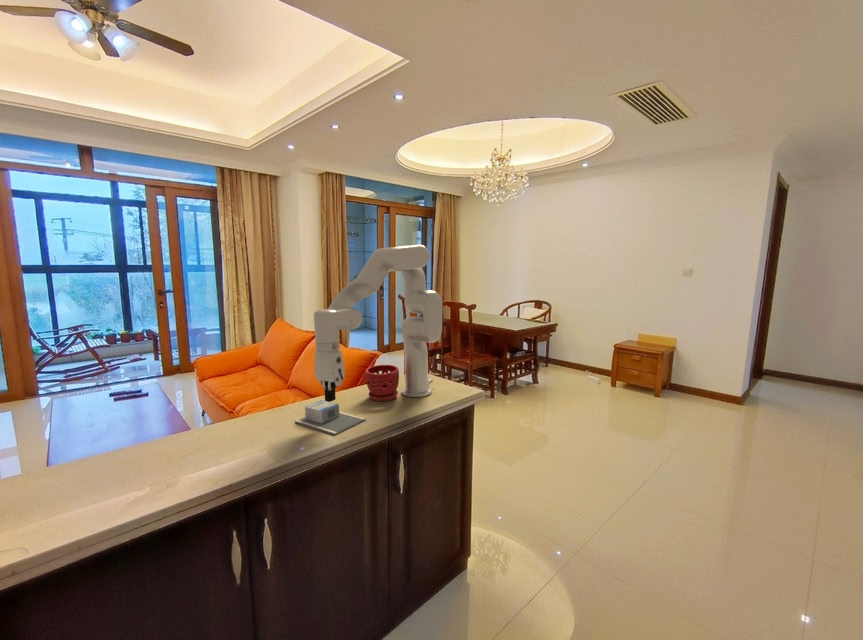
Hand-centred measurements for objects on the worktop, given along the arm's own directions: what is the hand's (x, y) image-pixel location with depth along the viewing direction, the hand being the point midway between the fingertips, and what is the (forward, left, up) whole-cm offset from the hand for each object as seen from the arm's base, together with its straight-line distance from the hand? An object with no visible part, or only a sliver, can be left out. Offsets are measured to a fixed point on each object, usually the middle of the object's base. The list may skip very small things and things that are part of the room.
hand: (330, 400), depth 131 cm
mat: (0, 0, -8) cm, 8 cm away
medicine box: (0, 0, -5) cm, 5 cm away
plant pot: (-28, -1, -8) cm, 29 cm away
